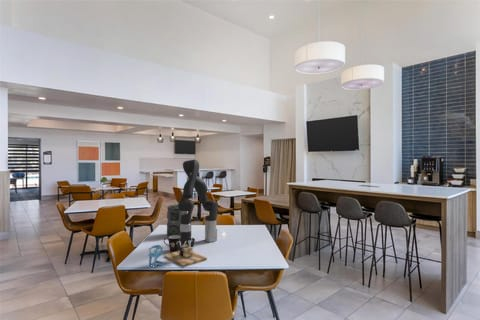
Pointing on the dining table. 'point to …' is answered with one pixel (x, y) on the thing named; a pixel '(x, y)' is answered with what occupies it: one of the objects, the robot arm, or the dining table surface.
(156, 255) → the chair
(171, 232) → the canister
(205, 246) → the dining table surface
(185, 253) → the sanding block
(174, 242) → the coffee mug
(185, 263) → the board
